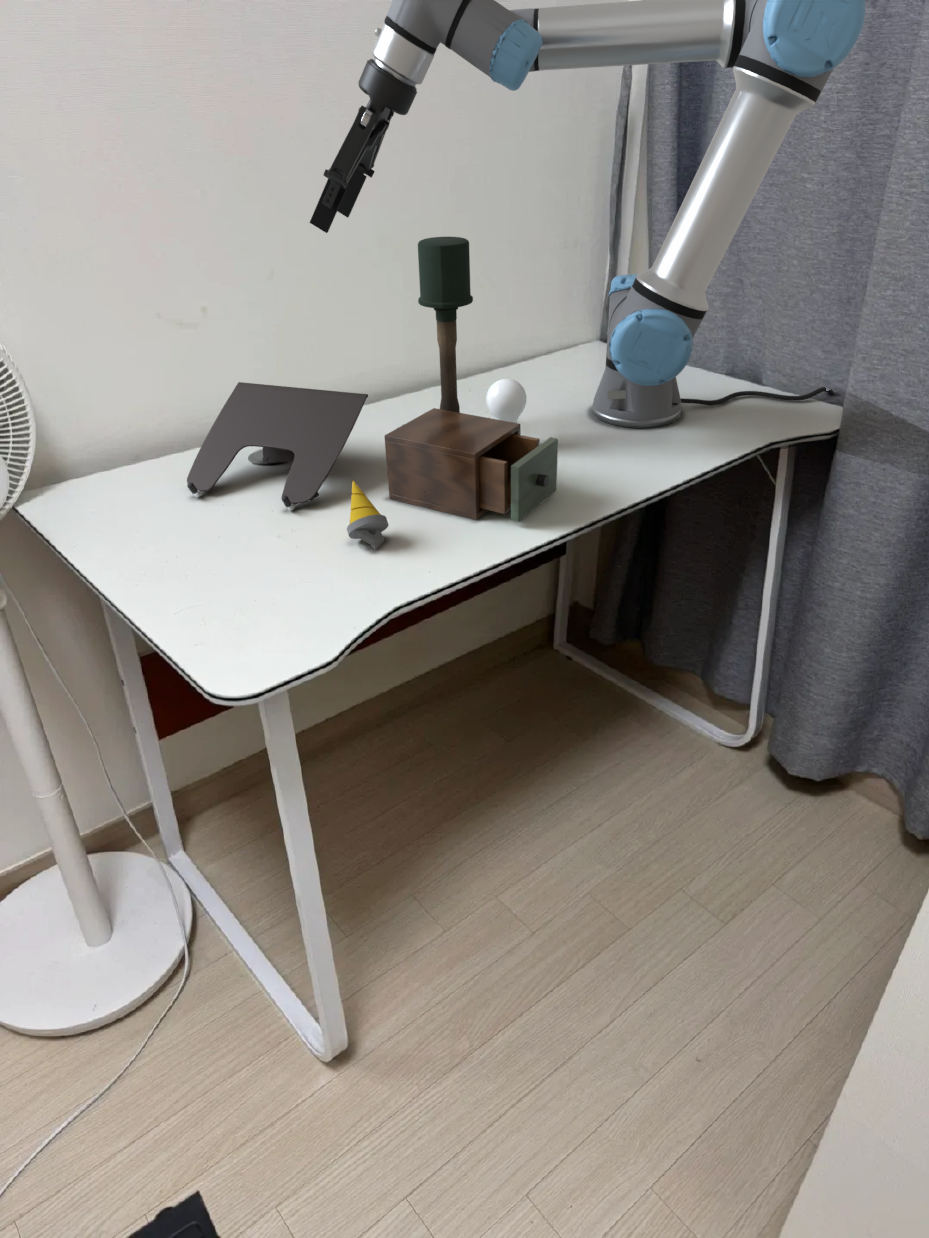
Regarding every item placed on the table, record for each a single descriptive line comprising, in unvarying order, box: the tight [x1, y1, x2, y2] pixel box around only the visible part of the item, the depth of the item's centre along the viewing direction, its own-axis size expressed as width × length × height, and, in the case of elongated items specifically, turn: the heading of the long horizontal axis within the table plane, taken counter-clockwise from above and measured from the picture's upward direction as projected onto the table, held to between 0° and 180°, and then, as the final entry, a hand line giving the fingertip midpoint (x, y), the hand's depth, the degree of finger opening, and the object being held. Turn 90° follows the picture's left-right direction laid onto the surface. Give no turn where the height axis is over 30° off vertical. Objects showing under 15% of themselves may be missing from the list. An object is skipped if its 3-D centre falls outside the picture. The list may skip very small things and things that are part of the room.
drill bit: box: [346, 480, 389, 551], centre depth 112 cm, size 5×5×10 cm
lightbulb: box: [485, 377, 527, 423], centre depth 136 cm, size 6×6×11 cm
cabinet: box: [384, 407, 521, 521], centre depth 122 cm, size 15×13×10 cm
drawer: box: [478, 434, 559, 523], centre depth 119 cm, size 15×11×8 cm
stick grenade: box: [417, 236, 474, 413], centre depth 138 cm, size 8×9×30 cm
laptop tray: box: [186, 381, 369, 511], centre depth 130 cm, size 23×23×9 cm
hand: (329, 220), depth 127 cm, fingers open, 13 cm apart
